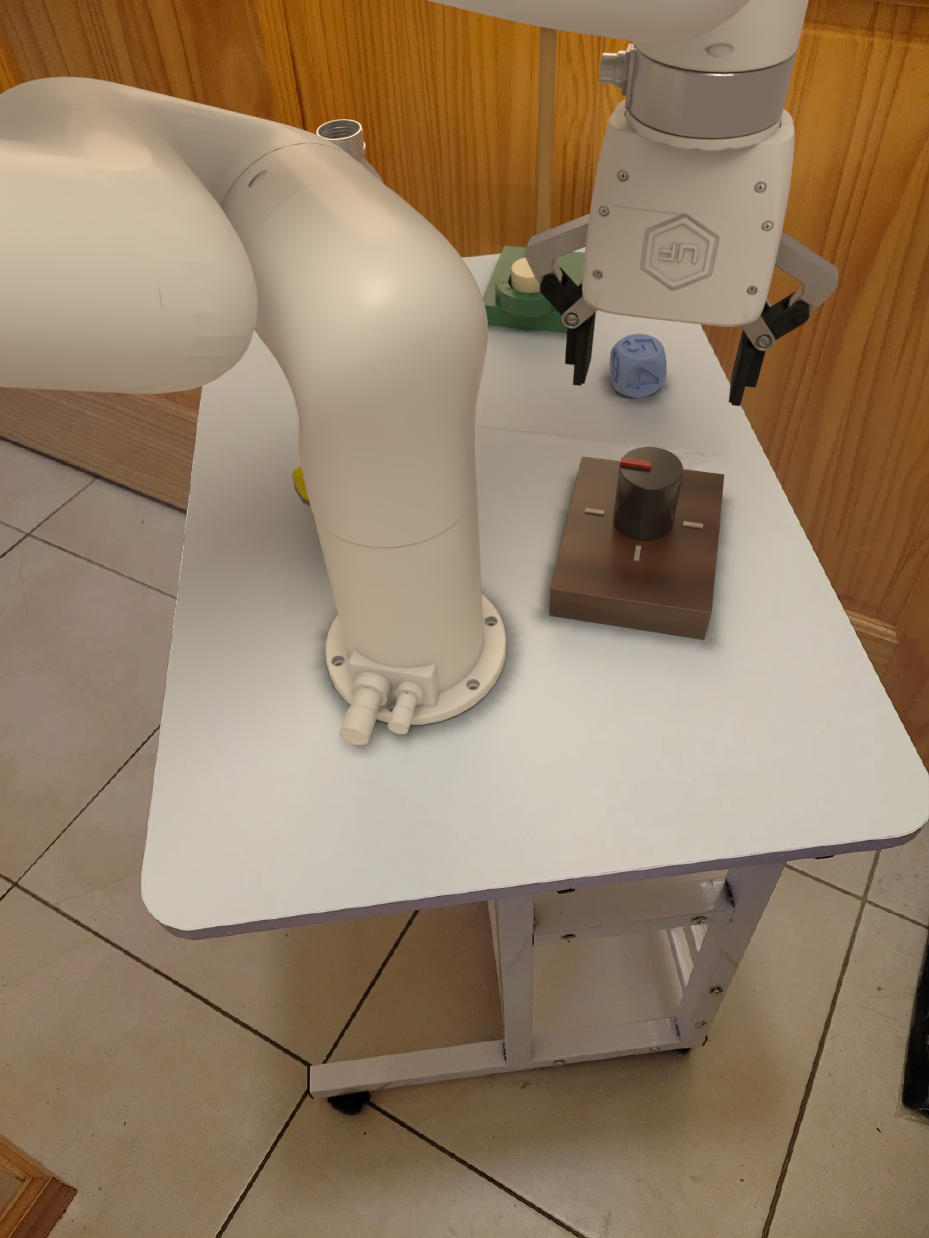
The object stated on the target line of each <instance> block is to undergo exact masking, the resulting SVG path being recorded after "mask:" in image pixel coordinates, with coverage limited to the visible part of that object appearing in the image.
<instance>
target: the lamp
mask: <svg viewBox="0 0 929 1238" xmlns="http://www.w3.org/2000/svg"><path fill="white" fill-rule="evenodd" d="M557 38H558V30H556V29H551V28H545V27H540V26H539V52H538V53H539V56H538V57H539V59H538V61H539V62H538V115H537V116H538V117H537V160H536V161H537V163H536V166H537V167H536V218H535V219H536V221H535V235H537V234H540V233H542V232H545V231H547V230H550V229H552V227H551V226H552V201H553V199H552V197H553V169H554V168H553V166H554V162H553V161H554V137H555V136H554V134H555V133H554V131H555V105H556V101H555V100H556V75H557V73H556V71H557V70H556V69H557V41H558V39H557Z"/></svg>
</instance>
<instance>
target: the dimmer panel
mask: <svg viewBox="0 0 929 1238" xmlns="http://www.w3.org/2000/svg"><path fill="white" fill-rule="evenodd" d="M619 464H620V460H614V459H605V458H598V457H591V456H581V458H580V462H579V467H578V471H577V474H576V479H575V483H574V488H573V492H572V495H571V501H570V504H569V508H568V513H567V517H566V520H565V525H564V529H563V533H562V538H561V541H560V546H559V550H558V555H557V558H556V563H555V566H554V570H553V576H552V580H551V584H550V588H549V605H548V608H549V609H548V615H549V616H551V617H557V618H558V617H559V618H562V619H568V620H569V619H570V620H576V621H583V622H587V623H588V622H589V623H595V624H601V625H608V626H614V627H620V628H627V629H633V630H640V631H646V632H652V633H658V634H665V635H671V636H675V637H676V636H678V637H683V638H690V639H697V640H701V641H702V640H703V641H705V639H706V636H707V631H708V628H709V624H710V621H711V617H712V614H713V605H714V604H713V603H714V595H715V593H714V592H715V582H716V572H717V562H718V561H717V560H718V551H719V550H718V547H719V540H720V539H719V537H720V529H721V528H720V527H721V516H722V507H723V506H722V505H723V495H724V485H725V473H718V472H709V471H701V470H694V469H685V468H683V477H682V482H681V487H680V492H679V497H678V502H677V508H676V513H675V518H674V523H673V526H672V528H671V529H670V530H669V531H668V532H667V533H666V534H665V535H663V536H661V537H659V538H655V539H648V540H643V539H636V538H633V537H630V536H628V535H626V534H624V533H623V532H621V531H620V530H619V529H618V528H617V526H616V525H615V522H614V519H613V513H614V505H615V497H616V488H617V480H618V472H619Z"/></svg>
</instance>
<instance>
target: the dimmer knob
mask: <svg viewBox="0 0 929 1238" xmlns="http://www.w3.org/2000/svg"><path fill="white" fill-rule="evenodd" d="M619 461H620V464H619V472H618V480H617V488H616V497H615V505H614V513H613V519H614V522H615V525H616V526H617V528H618V529H619V530H620V531H621V532H623V533H624V534H626V535H628V536H630V537H633V538H636V539H643V540H648V539H655V538H659V537H661V536H663V535H665V534H666V533H667V532H668V531H669V530H670V529H671V528H672V526H673V523H674V518H675V513H676V508H677V502H678V497H679V492H680V487H681V482H682V477H683V469H684V465H683V463H682V461H681V460H680V458H679V457H678V456H677V455H676V454H675V453H673V452H672V451H670V450H667V449H665V448H663V447H657V446H642V447H636V448H634V449H632V450H629V451H628V452H627V453H625V454H624V455H623V456H621V457H620V460H619Z"/></svg>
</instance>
